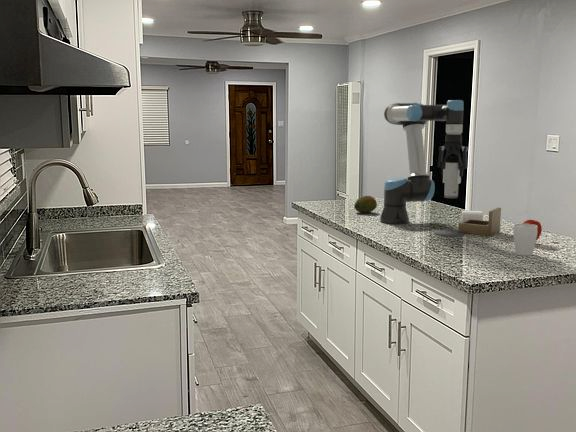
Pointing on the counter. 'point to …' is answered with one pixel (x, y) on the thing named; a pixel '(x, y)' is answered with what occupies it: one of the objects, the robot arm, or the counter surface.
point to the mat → (449, 233)
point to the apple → (539, 228)
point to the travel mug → (451, 177)
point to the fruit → (365, 204)
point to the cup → (525, 239)
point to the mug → (471, 215)
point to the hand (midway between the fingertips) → (451, 182)
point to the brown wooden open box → (482, 225)
